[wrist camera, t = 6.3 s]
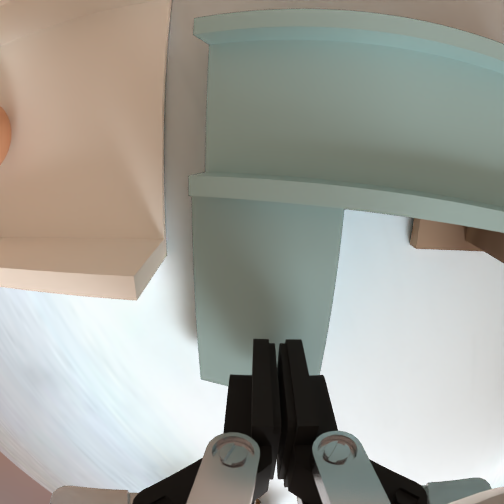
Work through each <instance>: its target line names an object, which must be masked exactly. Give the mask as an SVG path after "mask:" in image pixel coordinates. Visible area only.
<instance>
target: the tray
mask: <svg viewBox="0 0 504 504" xmlns="http://www.w3.org/2000/svg"><path fill="white" fill-rule="evenodd" d="M171 5H172V0H0V106H1V107H2V108H3V109H4V111H5V112H6V114H7V116H8V118H9V121H10V124H11V143H10V147H9V150H8V153H7V155H6V157H5V159H4V160H3V162H2V164H1V165H0V287H6V288H14V289H22V290H30V291H39V292H48V293H57V294H67V295H77V296H88V297H99V298H111V299H124V300H138V298H139V296H140V295H141V293H142V292H143V290H144V289H145V287H146V286H147V284H148V283H149V281H150V280H151V278H152V277H153V275H154V274H155V272H156V271H157V269H158V268H159V266H160V265H161V263H162V262H163V261H164V259H165V258H166V256H167V247H166V228H165V202H164V104H165V80H166V62H167V48H168V35H169V24H170V14H171Z"/></svg>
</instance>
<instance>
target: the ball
mask: <svg viewBox="0 0 504 504" xmlns="http://www.w3.org/2000/svg"><path fill="white" fill-rule="evenodd" d="M10 143H11V124H10V121H9V118H8V116H7V114H6V112H5V111H4V109H3V108H2V107H1V106H0V165H1V164H2V162H3V160H4V159H5V157H6V155H7V153H8V150H9V147H10Z"/></svg>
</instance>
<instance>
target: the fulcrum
mask: <svg viewBox="0 0 504 504" xmlns="http://www.w3.org/2000/svg"><path fill="white" fill-rule="evenodd" d="M410 245H412V246H413V247H414V248H416V249H439V250H465V251H485V252H486V253H488V254H490V255H491V256H493V257H494V258H496V259H498V260H499V261H501V262H503V263H504V233H502V232H496V231H491V230H485V229H480V228H474V227H468V226H462V225H456V224H450V223H444V222H438V221H431V220H424V219H418V218H414V221H413V228H412V234H411V240H410Z"/></svg>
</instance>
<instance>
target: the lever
mask: <svg viewBox="0 0 504 504" xmlns="http://www.w3.org/2000/svg"><path fill="white" fill-rule="evenodd" d="M193 35H194V36H196V37H198V38H199V39H201V40H202V41H204V42H205V43H207V44H209V57H208V79H207V107H206V151H205V172H203V173H199V174H194V175H190V176H189V196H192V235H193V265H194V287H195V306H196V323H197V337H198V351H199V363H200V375H201V379H202V380H206V381H209V382H213V383H217V384H221V385H225V386H229V377H230V374H233V375H252V358H253V339H269V343H275V349H276V361H277V363H278V352H279V344H280V343H285V340H286V339H301V340H302V343H303V348H304V353H305V357H306V362H307V367H308V372H309V375H320V370H321V365H322V360H323V355H324V349H325V344H326V338H327V333H328V327H329V321H330V315H331V309H332V302H333V296H334V289H335V282H336V275H337V268H338V260H339V252H340V244H341V235H342V226H343V216H344V209H349V210H358V211H366V212H374V213H382V214H389V215H396V216H404V217H411V218H418V219H424V220H431V221H438V222H444V223H450V224H456V225H462V226H468V227H474V228H480V229H485V230H491V231H496V232H502V233H504V44H502V43H499V42H497V41H494V40H491V39H488V38H485V37H482V36H479V35H476V34H473V33H469V32H466V31H463V30H459V29H455V28H452V27H448V26H444V25H440V24H435V23H431V22H426V21H421V20H416V19H411V18H406V17H400V16H393V15H386V14H379V13H370V12H361V11H349V10H333V9H272V10H256V11H244V12H234V13H226V14H218V15H211V16H204V17H198V18H194V29H193Z"/></svg>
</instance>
